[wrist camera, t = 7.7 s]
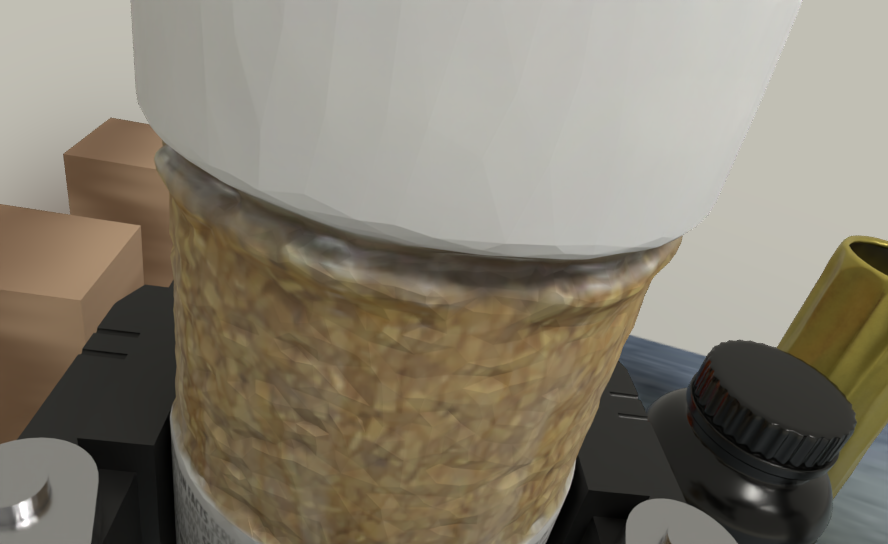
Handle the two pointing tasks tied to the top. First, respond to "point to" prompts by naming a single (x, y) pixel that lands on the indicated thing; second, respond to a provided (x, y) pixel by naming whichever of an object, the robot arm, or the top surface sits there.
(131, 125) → the rail rack
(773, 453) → the supplement bottle
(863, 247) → the vase
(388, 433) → the spice jar
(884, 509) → the top surface
